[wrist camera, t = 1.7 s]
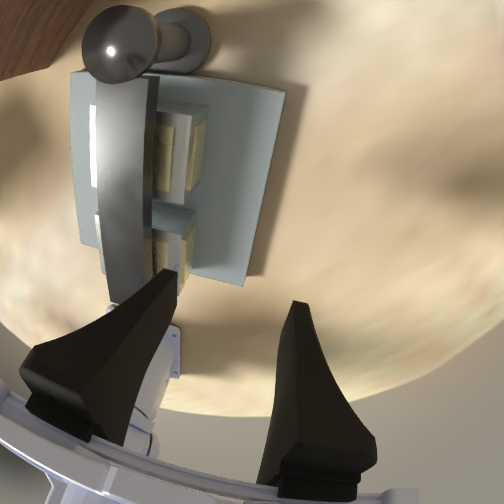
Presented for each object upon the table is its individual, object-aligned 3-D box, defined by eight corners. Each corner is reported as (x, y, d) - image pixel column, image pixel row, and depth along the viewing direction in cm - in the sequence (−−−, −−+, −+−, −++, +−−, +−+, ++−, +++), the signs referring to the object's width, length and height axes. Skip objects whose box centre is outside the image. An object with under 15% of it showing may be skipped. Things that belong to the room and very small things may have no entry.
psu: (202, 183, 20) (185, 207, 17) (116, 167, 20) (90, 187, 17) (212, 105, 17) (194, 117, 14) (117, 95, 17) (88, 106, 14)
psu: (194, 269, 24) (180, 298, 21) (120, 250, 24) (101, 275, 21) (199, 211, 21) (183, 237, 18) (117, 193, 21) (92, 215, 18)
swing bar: (159, 302, 21) (148, 323, 20) (113, 288, 21) (100, 307, 20) (178, 8, 11) (158, 3, 9) (110, 10, 11) (86, 9, 9)
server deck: (245, 276, 25) (230, 331, 20) (88, 235, 25) (52, 276, 21) (301, 24, 14) (298, 10, 10) (86, 14, 15) (29, 15, 10)
